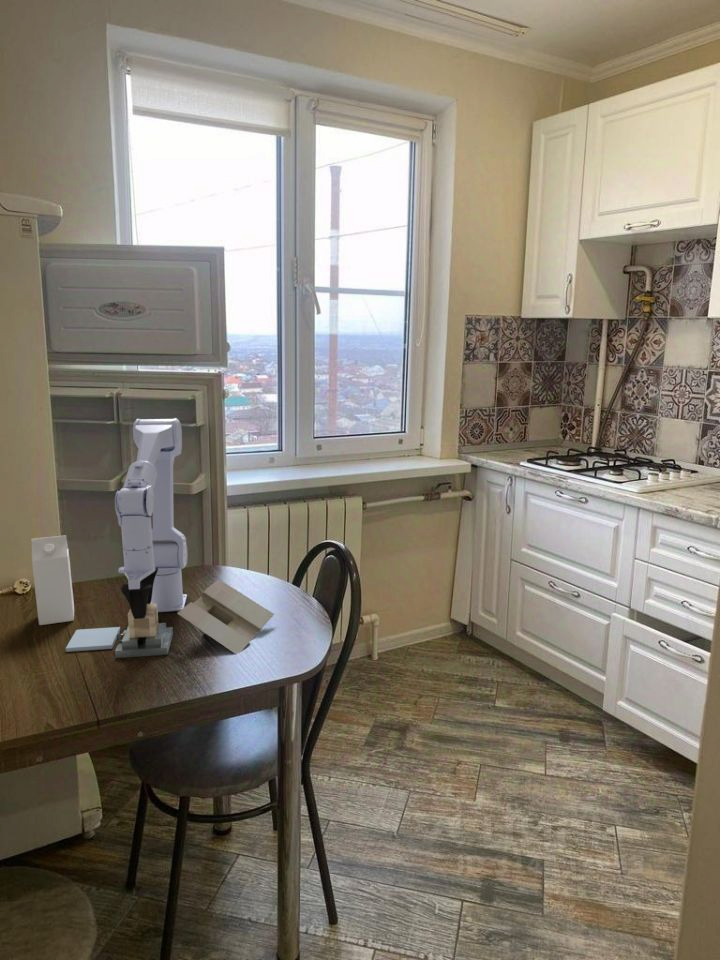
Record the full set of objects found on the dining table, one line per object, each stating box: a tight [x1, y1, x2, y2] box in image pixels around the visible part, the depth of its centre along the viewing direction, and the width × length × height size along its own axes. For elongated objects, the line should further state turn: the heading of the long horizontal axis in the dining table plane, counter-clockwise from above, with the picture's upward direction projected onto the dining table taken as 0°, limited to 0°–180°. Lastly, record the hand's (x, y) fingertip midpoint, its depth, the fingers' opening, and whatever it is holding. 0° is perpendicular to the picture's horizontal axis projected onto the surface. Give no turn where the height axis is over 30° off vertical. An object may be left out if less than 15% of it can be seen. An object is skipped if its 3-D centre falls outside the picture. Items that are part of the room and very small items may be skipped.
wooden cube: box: [127, 603, 159, 638], centre depth 143 cm, size 5×5×5 cm
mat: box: [65, 626, 121, 653], centre depth 147 cm, size 9×9×1 cm
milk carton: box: [30, 535, 75, 626], centre depth 157 cm, size 7×7×19 cm
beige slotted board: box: [177, 579, 275, 655], centre depth 150 cm, size 16×9×15 cm
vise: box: [114, 622, 174, 659], centre depth 144 cm, size 10×10×6 cm
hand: (142, 610), depth 143 cm, fingers open, 7 cm apart
